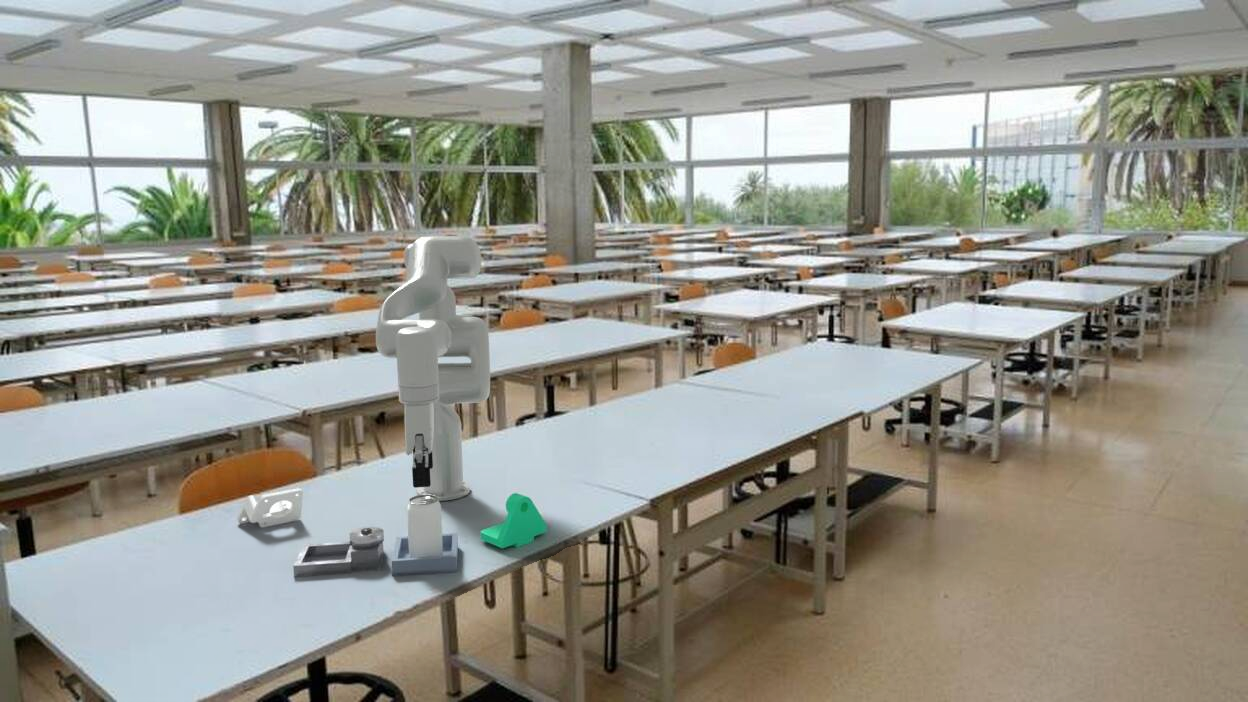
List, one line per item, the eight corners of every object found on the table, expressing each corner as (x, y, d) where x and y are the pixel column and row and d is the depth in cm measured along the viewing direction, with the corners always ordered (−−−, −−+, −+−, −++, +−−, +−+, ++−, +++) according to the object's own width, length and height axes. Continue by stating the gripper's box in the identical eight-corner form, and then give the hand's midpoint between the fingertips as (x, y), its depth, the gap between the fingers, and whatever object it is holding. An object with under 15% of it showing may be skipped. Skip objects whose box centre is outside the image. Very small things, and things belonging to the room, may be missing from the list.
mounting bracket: (243, 539, 189) (244, 501, 184) (235, 519, 193) (237, 482, 188) (300, 526, 196) (303, 489, 191) (292, 508, 200) (294, 471, 195)
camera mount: (522, 527, 190) (521, 481, 189) (546, 536, 185) (545, 489, 184) (478, 543, 182) (477, 496, 180) (502, 553, 177) (501, 504, 175)
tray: (397, 550, 177) (396, 536, 177) (458, 546, 179) (457, 533, 179) (392, 576, 166) (391, 561, 165) (456, 571, 168) (456, 556, 167)
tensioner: (304, 554, 176) (302, 524, 174) (387, 549, 178) (385, 519, 177) (294, 576, 166) (291, 544, 164) (382, 570, 168) (380, 539, 167)
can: (445, 550, 176) (443, 493, 174) (439, 564, 170) (437, 504, 167) (413, 551, 176) (410, 493, 174) (406, 564, 169) (403, 505, 167)
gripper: (402, 381, 174) (406, 463, 178) (394, 405, 158) (399, 495, 162) (440, 380, 176) (444, 461, 179) (437, 404, 159) (441, 493, 163)
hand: (423, 477), depth 171 cm, fingers open, 9 cm apart
